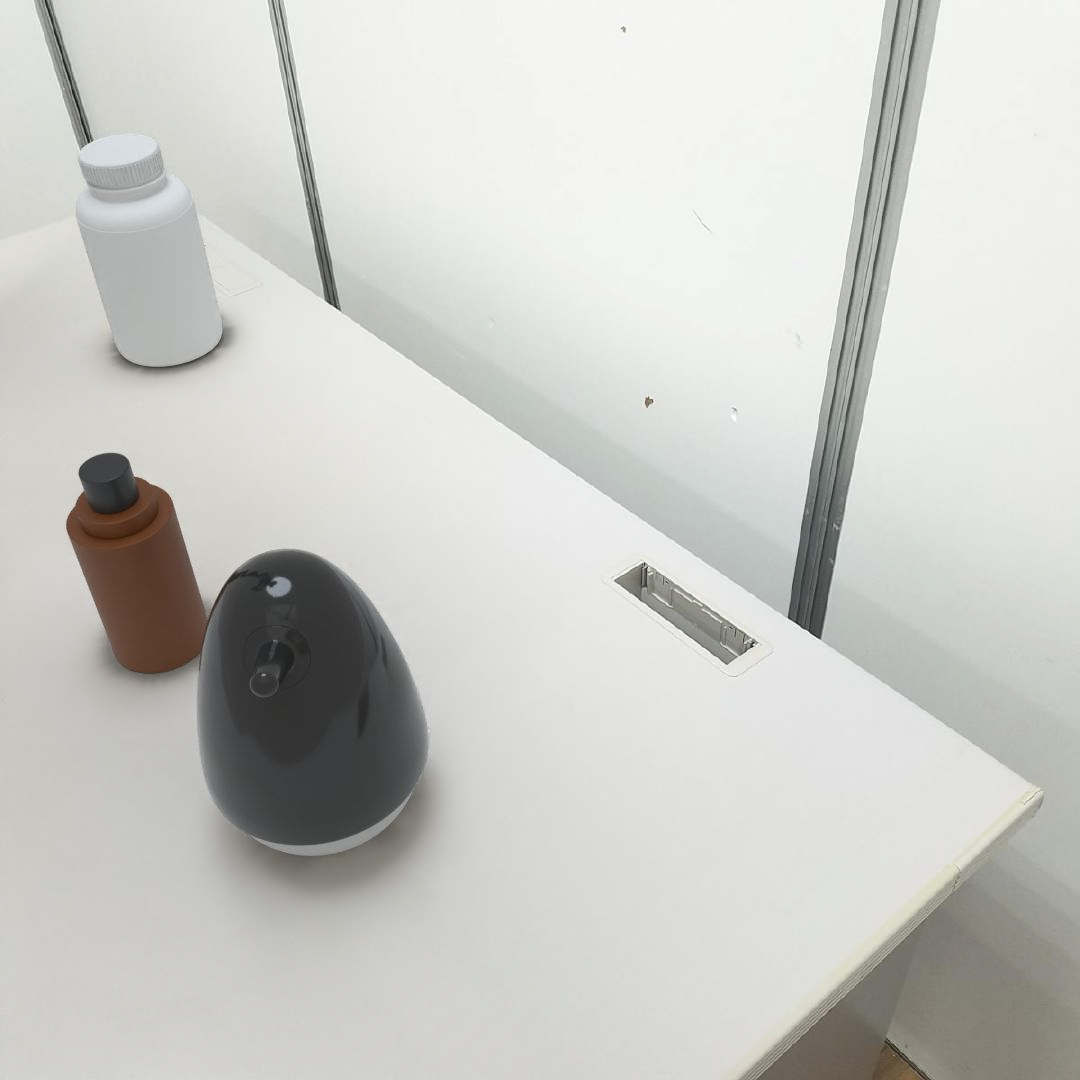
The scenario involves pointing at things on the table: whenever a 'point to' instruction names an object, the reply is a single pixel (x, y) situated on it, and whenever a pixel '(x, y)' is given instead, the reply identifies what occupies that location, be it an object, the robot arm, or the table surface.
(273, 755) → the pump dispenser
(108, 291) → the pill bottle
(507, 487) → the table surface
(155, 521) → the amber bottle
